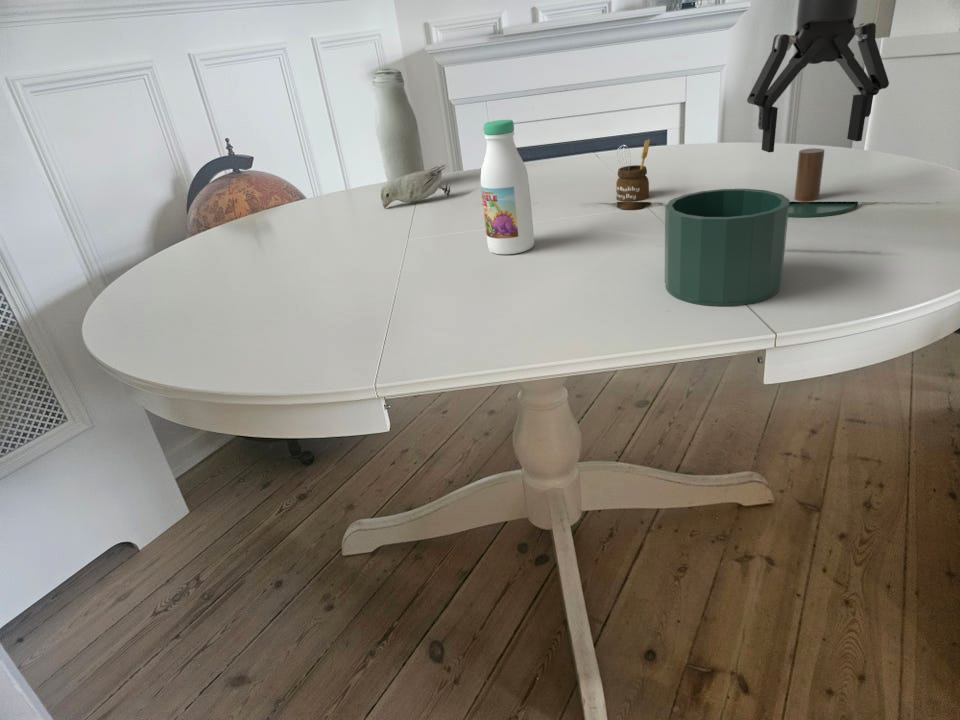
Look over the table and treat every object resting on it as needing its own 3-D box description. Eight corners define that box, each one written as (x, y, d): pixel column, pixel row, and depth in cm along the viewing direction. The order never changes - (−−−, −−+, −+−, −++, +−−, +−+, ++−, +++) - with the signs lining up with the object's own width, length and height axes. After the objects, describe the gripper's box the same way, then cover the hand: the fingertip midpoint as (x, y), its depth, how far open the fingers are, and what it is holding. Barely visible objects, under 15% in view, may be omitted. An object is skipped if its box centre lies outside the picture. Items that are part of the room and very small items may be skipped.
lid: (858, 196, 106) (866, 139, 102) (856, 221, 95) (865, 159, 91) (762, 196, 113) (766, 143, 109) (750, 220, 102) (754, 162, 98)
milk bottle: (514, 238, 109) (502, 116, 100) (544, 245, 104) (533, 117, 95) (479, 250, 106) (463, 125, 97) (507, 258, 100) (493, 126, 91)
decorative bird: (381, 206, 146) (375, 173, 142) (449, 194, 148) (444, 161, 145) (384, 211, 141) (378, 177, 137) (454, 198, 144) (449, 165, 140)
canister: (785, 269, 82) (794, 187, 77) (773, 310, 71) (782, 219, 67) (678, 264, 88) (680, 189, 83) (653, 301, 78) (653, 218, 73)
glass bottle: (428, 183, 163) (410, 64, 150) (425, 191, 154) (404, 66, 141) (391, 187, 164) (369, 70, 151) (385, 196, 155) (361, 72, 142)
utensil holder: (627, 201, 122) (625, 136, 117) (656, 203, 118) (656, 136, 113) (610, 209, 118) (608, 142, 113) (640, 211, 114) (639, 143, 109)
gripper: (901, -19, 93) (876, 131, 102) (731, 3, 93) (722, 151, 103) (935, -24, 86) (905, 138, 96) (752, 1, 87) (741, 159, 96)
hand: (810, 145), depth 99 cm, fingers open, 13 cm apart
